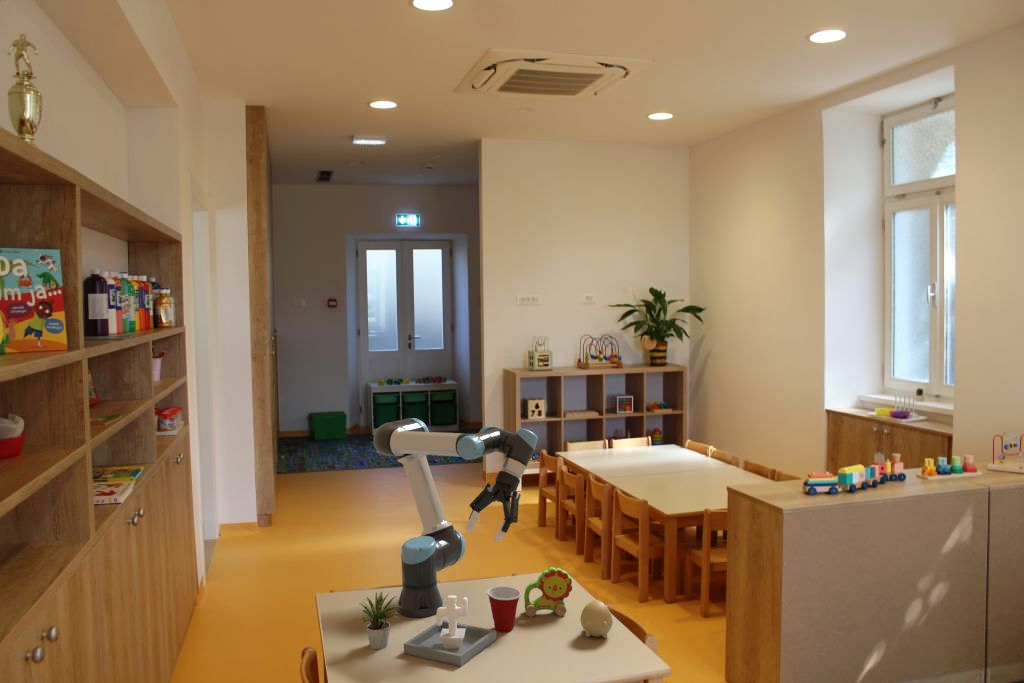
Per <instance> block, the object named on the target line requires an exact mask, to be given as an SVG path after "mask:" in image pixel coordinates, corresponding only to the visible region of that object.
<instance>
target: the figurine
mask: <svg viewBox="0 0 1024 683" xmlns="http://www.w3.org/2000/svg"><path fill="white" fill-rule="evenodd" d="M457 600H458V598H457V595H455V594H454V595H453V594H452V595H447V597H446V602H447V606H443V607H439V608H438V609H437V614H436V623H437V625H438V626H441V625H442V620H443V618H445V617H447V618H448V619H447V621H448V625H449V629H442V631H441V635H440V638H439V639H440V640H441V642H442V644H443V645H444V647H445V648H460V646H461V644H462V641H463V639H464V635H465V630H466V628H457V623H458V621H457V617H467V616H468V613H469V608H468V607H469V601H468V597H466V596H465V597H462V599H461V600H462V602H461V604H462V605H461V606H457Z"/></svg>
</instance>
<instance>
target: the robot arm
mask: <svg viewBox="0 0 1024 683" xmlns="http://www.w3.org/2000/svg"><path fill="white" fill-rule="evenodd" d="M373 434H374V435H373V441H372V442H373V446H374V449H376V451H377V452H378V453H379V454H380V455H383V456H386V457H396V462H399V463H400V464H402V466H403V469H404V472H405V475H406V478H407V482H408V485H409V487H410V490H411V494H412V496H413V499H414V503H415V506H416V510H417V512H418V515H419V519H420V522H421V525H422V527H423V529H422V533H421V535H419V536H417V537H412V538H409V539H408V540H407V539H406V540H405V541H404V543H403V544H402V545H401V554H400V558H401V578H402V579H401V581H402V582H401V583H402V585H401V586H402V587H401V592H400V595H399V599H398V602H397V607H398V608H397V613H398V614H399V615H400V616H405V617H407V618H408V617H409V618H423V617H430V616H433V615H437V609H438V608H439V607H444V605H443V604H444V602H443V598H442V596H441V593H440V589H439V587H438V578H437V576H438V574H437V573H438V572H440V571H442V570H444V569H446V568H448V567H451V566H454V565H455V564H457V563H458V562H459V561H460V560H462V559H463V556H464V554H465V552H466V541H465V538H464V536H463V534H462V533H461V532H459V531H458V530H457V529H455V528H454V525H453V523H452V522H450V521H448V520H447V517H446V514H445V512H444V508H443V506H442V502H441V498H440V496H439V493H438V490H437V487H436V484H435V480H434V478H433V474H432V472H431V468H430V465H429V462H428V459H427V456H441V457H443V456H446V457H458V458H459V457H461V458H462V459H463V460H466V461H468V460H475V459H478V458H481V457H483V456H487V455H490V454H494V453H500V454H503V455H505V458H504V459H503V462H502V465H501V467H500V471H498V473H497V475H496V478H495V484H494V485H492V484H491V483H487V484H486V485H485V486H484V488H483V490H481V492H480V493H479V494H478V495H477V496H476V497H475V499H473V500H472V502H470V504H469V508H471V512H470V515H469V517H468V522H467V524H466V526H465V528H464V529H465V530H466V531H468V532H469V533H471V534H472V533H473V531H474V529H475V527H476V524H477V523H478V520H479V518H480V516H481V511H483V510H485V508H487V507H489V505H491V504H492V503H495V502H498V503H501V504H502V509H503V516H504V519H502V520H501V523H500V525H499V526H498V529H497V531H496V534H495V535H494V538H493V540H494V541H495V542H497V543H499V544H501V543H502V541H503V539H504V538H505V534H507V533H508V531H509V529H510V526H511V524H517V523H518V521H519V520H518V517H519V502H520V499H521V493H519V492H518V491H517V489H518V487H519V484H520V483H521V479H522V477H523V475H524V473H525V471H526V468H527V466H528V464H529V462H530V459H531V457H532V455H533V454H534V451H535V450H536V447H537V443H538V440H539V437H538V435H537V434H536V433H535V432H532V431H531V430H528V429H526V428H521V427H520V428H518V430H517V431H516V432H512V431H507V430H505V429H501V428H499V427H497V426H495V425H494V426H493V425H489V424H488V425H484V426H482V428H480V430H479V431H478V433H461V432H460V433H459V432H457V433H456V432H455V433H454V432H437V431H436V432H435V431H434V432H432V431H429V429H428V426H427V425H426V424H425V422H424V421H422V420H420V419H418V418H414V417H412V418H409V417H408V418H403V419H400V420H395V421H390V422H386V423H383V424H382V425H380V426H379V427H377V429H376V430H375V432H374V433H373Z"/></svg>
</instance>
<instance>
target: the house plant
mask: <svg viewBox="0 0 1024 683" xmlns="http://www.w3.org/2000/svg"><path fill="white" fill-rule="evenodd" d="M383 593H384V592H383V591H380V593H379V595H378V591H376V593H375V602H374V603H375V604H374V603H373V601H372V600H371V599H370V598H369V597H368V596H366V599H363V600H365V601H366V600H367V602H368V604H369V605H370V607H369V606H368V605H367V604H366V603H365V602H364V601H362V600H361V602H359V605H360V606H362V607H363V608H364V609H362V610H361V612H362V613H364V614H366V615H367V616H368V617H369V618H367V617H361V620H360V622H361V624H363V623H366V622H369V623H368V624H367V625H366V632H367V636H368V641H369V646H370V648H371V649H373V650H382V649H386V648H387V647H388V644H389V636H390V628H391V623H390V622H388V621H387V620H389V619H390V618H398V616H397V615H399V612H398V611H392V610H395V609H398V606H396V605H394V604H395V602H393V600H394V599H396V598H397V597H398V595H396V596H393V597H392V598H391V599H389V601H388V602H387V603H386V604H385V606H383V604H384V603H385V600H386V599H387V597H388V596H389V593H387V595H385V596H384V597H383ZM390 611H392V612H390Z"/></svg>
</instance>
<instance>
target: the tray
mask: <svg viewBox="0 0 1024 683" xmlns="http://www.w3.org/2000/svg"><path fill="white" fill-rule="evenodd" d="M457 628H466V630H465V635H464V639H463V641H462V644H461V646H460V648H445V647H444V645H443V644H442V642H441V640H440V639H439V638H440V635H441V631H442V629H449V625H448V620H444V619H442V625H441V626H438V625H437V622H436V623H433V625H431V626H429V627H428V628H426V629H424V630H423V631H421V632H420V633H418V634H416V635H415V636H413V637H412V638H411V639H409V640H407V641H405V642H404V643H403V654H404V655H408V656H412V657H417V658H420V659H421V658H422V659H426V660H430V661H434V662H437V663H438V662H439V663H443V664H447V665H450V666H454V667H460V668H462V667H463V666H465V665H466V664H467V663H468V662H470V661H471V660H472V659H474V658H475V657H477V656H478V655H479V654H480V653H482V652H483V651H485V649H487V648H488V647H490V646H491V645H492V644H494V643H495V642H496V641H497V630H496V629H489V628H484V627H479V626H474V625H469V624H465V623H459V622H457Z"/></svg>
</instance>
